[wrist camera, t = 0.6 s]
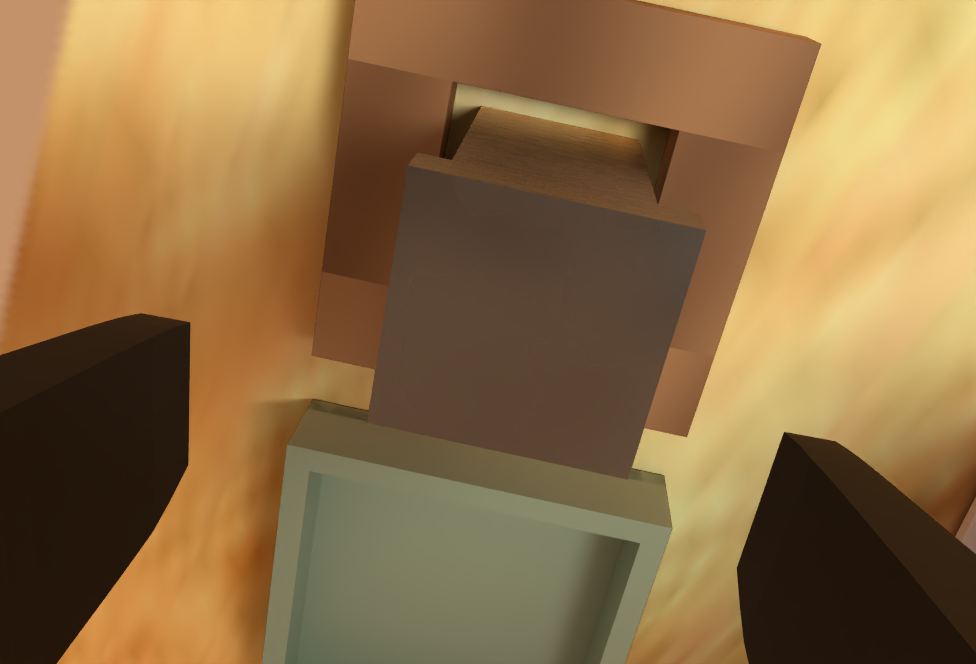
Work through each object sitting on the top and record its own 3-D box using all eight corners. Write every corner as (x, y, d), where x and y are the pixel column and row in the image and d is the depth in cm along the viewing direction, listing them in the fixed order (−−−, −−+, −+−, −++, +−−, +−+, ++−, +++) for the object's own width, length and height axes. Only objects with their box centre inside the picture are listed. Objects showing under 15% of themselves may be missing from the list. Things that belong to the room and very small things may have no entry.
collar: (806, 36, 18) (821, 43, 17) (681, 411, 22) (686, 437, 21) (374, -57, 18) (361, -56, 17) (324, 334, 22) (311, 355, 21)
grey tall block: (662, 125, 19) (706, 230, 12) (612, 305, 21) (627, 479, 14) (467, 83, 19) (408, 165, 12) (433, 266, 21) (367, 423, 14)
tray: (664, 475, 23) (672, 528, 21) (579, 726, 27) (579, 792, 25) (312, 399, 23) (287, 444, 21) (279, 661, 27) (255, 720, 25)
